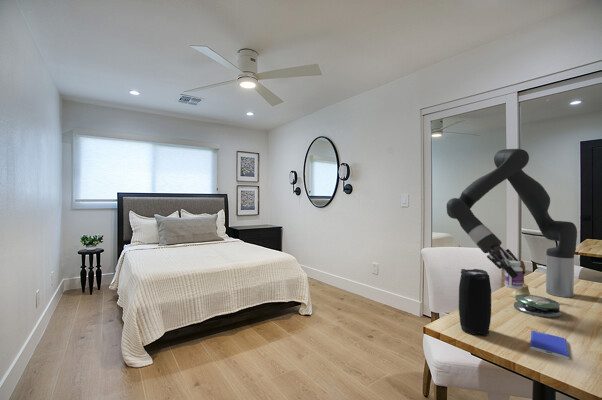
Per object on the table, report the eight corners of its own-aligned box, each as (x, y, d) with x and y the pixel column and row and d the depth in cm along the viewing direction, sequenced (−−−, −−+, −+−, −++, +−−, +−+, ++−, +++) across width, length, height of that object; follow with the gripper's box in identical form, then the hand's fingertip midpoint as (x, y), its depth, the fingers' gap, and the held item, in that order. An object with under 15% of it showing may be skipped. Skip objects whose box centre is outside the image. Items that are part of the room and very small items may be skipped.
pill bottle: (524, 287, 103) (524, 261, 103) (520, 290, 99) (520, 263, 99) (507, 283, 107) (507, 258, 107) (502, 286, 104) (502, 260, 104)
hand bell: (531, 301, 117) (532, 264, 117) (507, 296, 123) (508, 260, 123) (535, 297, 123) (535, 261, 123) (512, 292, 129) (512, 258, 129)
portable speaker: (453, 328, 92) (453, 269, 92) (469, 322, 97) (469, 266, 97) (480, 340, 85) (481, 276, 85) (496, 332, 90) (496, 272, 90)
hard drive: (531, 329, 90) (530, 345, 80) (566, 338, 84) (569, 355, 75) (531, 334, 90) (529, 350, 80) (566, 343, 84) (569, 361, 75)
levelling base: (512, 301, 118) (512, 291, 118) (556, 308, 110) (556, 297, 110) (515, 312, 106) (515, 301, 106) (565, 321, 98) (565, 309, 98)
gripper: (482, 234, 106) (519, 273, 96) (500, 231, 113) (537, 267, 103) (467, 246, 110) (501, 284, 100) (486, 242, 118) (519, 278, 108)
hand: (519, 275), depth 102 cm, fingers closed on pill bottle, 5 cm apart
